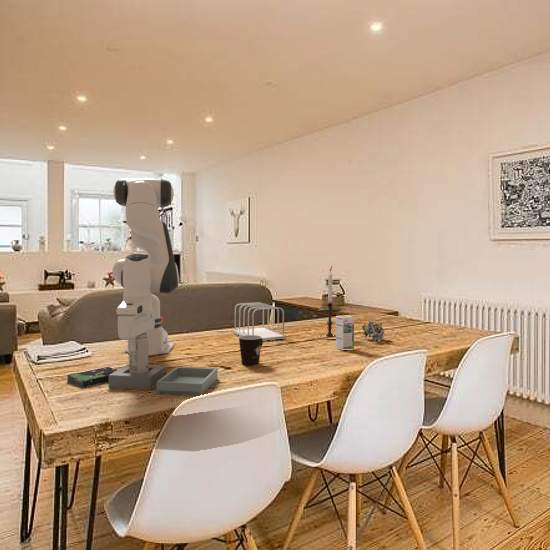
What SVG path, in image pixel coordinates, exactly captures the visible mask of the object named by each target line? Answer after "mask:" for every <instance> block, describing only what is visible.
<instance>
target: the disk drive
mask: <svg viewBox="0 0 550 550" xmlns="http://www.w3.org/2000/svg"><path fill="white" fill-rule="evenodd" d="M117 370H118V369H117V368H113V367H110V366H105V367H101V368H95V369H91V370H86V371H81V372H76V373H72V374H71V373H70V374H67V382H68V383H70V384H73V385H75V386H77V385H78V387H80V388H82V387H84V388H87V386H88V387H91V386H96V384H97V385H100V384H104V383H109V375H110V374H111V373H113V372H115V371H117Z"/></svg>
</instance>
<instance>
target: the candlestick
mask: <svg viewBox="0 0 550 550" xmlns="http://www.w3.org/2000/svg"><path fill="white" fill-rule="evenodd" d="M332 269H333V265H331V267H330V269H329V274H328V275H327V276H328V279H327V280H328V282H327V283H328V284H327V285H328V286H327V288H328V289H327V306H320V307H318V311H319V312H323V313H326V314H328V321H326V324H327V327H326V328H327V333H326V334H325V335H326V337H334V336H336V334H333V333H332V329H333V327H332V325H333V321H332V314H334V313H339V312H342V307H339V306H333V304H334V302H333V274H332ZM322 335H323V334H321V335H320V336H319V338H320V337H321V336H322ZM333 335H334V336H333Z"/></svg>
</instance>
